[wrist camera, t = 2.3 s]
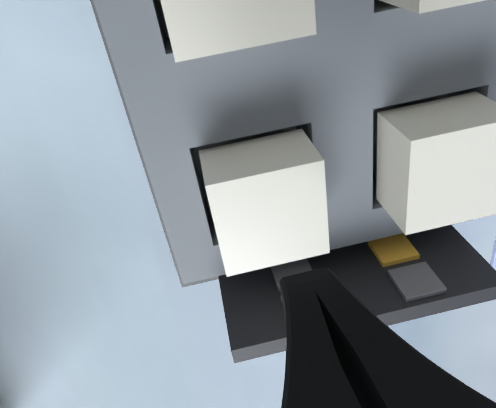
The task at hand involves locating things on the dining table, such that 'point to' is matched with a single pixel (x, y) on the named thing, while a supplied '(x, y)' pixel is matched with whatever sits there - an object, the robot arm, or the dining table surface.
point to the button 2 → (267, 200)
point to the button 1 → (234, 24)
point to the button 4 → (437, 162)
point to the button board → (322, 137)
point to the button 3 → (428, 4)
